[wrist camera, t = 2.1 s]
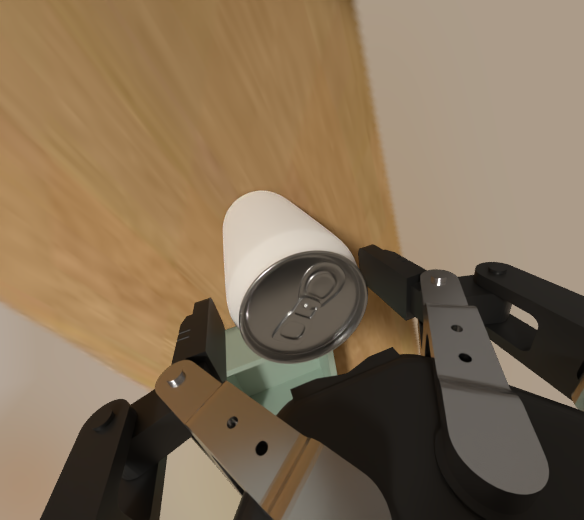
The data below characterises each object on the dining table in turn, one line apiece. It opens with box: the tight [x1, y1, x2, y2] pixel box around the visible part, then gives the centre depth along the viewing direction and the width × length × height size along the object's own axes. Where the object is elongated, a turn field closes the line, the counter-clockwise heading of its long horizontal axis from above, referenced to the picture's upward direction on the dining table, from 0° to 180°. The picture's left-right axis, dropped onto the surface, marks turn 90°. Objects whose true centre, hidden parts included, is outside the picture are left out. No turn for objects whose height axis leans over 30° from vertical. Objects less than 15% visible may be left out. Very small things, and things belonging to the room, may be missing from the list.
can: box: [223, 191, 368, 364], centre depth 15 cm, size 6×6×12 cm
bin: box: [225, 326, 337, 415], centre depth 24 cm, size 11×11×5 cm
